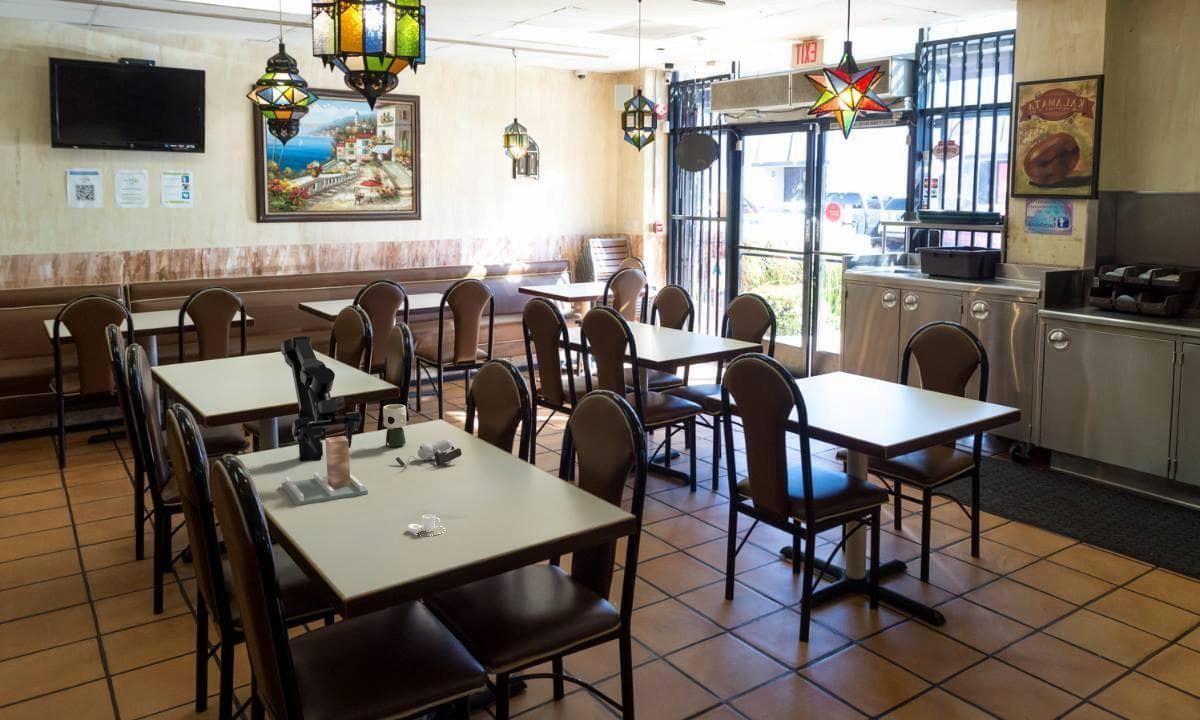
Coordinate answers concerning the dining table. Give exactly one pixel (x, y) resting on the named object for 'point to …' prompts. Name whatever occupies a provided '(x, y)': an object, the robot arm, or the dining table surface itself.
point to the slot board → (320, 489)
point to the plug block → (338, 461)
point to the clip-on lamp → (436, 453)
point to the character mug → (394, 424)
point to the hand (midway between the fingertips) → (333, 449)
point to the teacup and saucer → (424, 524)
